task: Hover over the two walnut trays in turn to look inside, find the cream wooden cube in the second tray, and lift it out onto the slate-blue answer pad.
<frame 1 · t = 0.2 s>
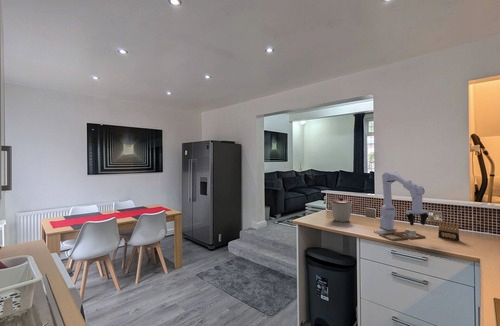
hand: (417, 224, 157), 10 cm above the countertop, tool pointing down, fingers open, 7 cm apart
ammunition clip: (448, 239, 158), on the countertop
cube: (410, 236, 166), resting in tray far
tray near: (393, 237, 163), on the countertop
answer pad: (383, 232, 173), on the countertop
tray far: (410, 235, 166), on the countertop
canister: (341, 220, 211), on the countertop
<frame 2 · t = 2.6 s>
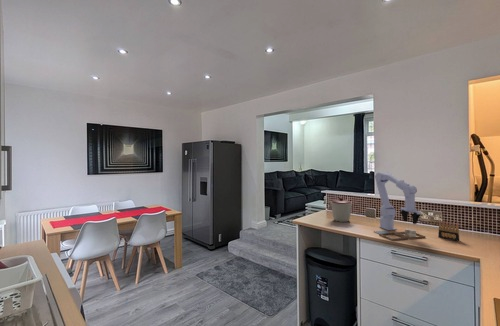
hand: (410, 222, 166), 9 cm above the countertop, tool pointing down, fingers open, 7 cm apart
nothing on the countertop moved.
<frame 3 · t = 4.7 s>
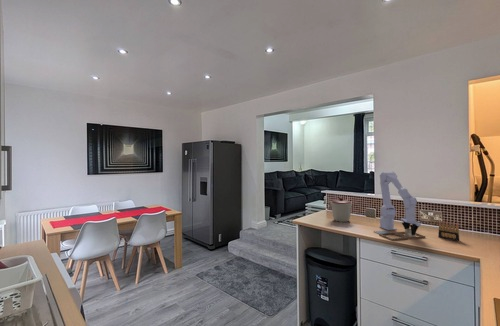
hand: (410, 233, 166), 1 cm above the countertop, tool pointing down, fingers closed on cube, 4 cm apart
cube: (410, 235, 166), resting in tray far, touching gripper
everything else where it was.
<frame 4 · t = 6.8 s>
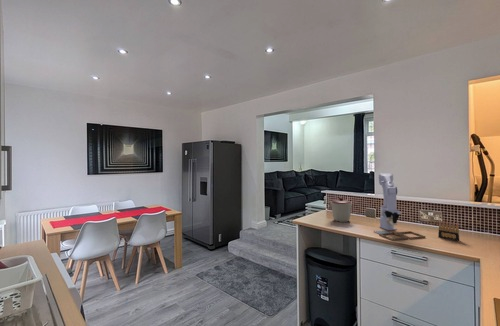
hand: (392, 222, 171), 8 cm above the countertop, tool pointing down, fingers closed on cube, 4 cm apart
cube: (392, 224, 171), point 7 cm above the countertop, touching gripper
everything else where it was.
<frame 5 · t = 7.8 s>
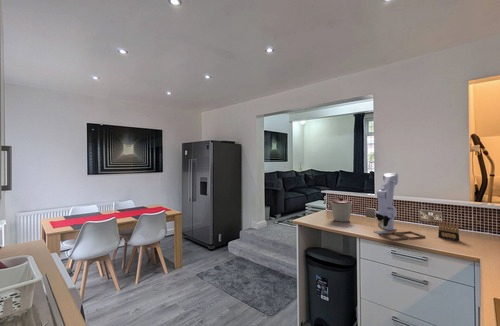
hand: (382, 225, 173), 6 cm above the countertop, tool pointing down, fingers closed on cube, 4 cm apart
cube: (382, 227, 173), point 4 cm above the countertop, touching gripper
everything else where it was.
when the fingers open (3 cm above the countertop, at t = 8.7 s): cube stays where it is, resting on answer pad.
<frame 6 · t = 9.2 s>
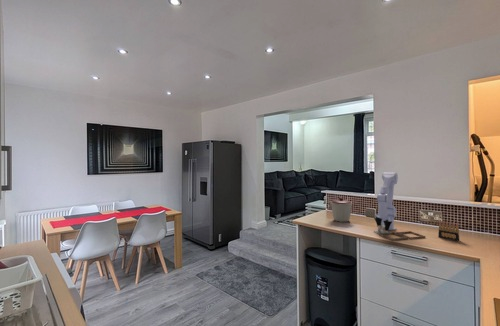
hand: (383, 229, 173), 3 cm above the countertop, tool pointing down, fingers open, 7 cm apart
cube: (383, 232, 173), resting on answer pad
everything else where it was.
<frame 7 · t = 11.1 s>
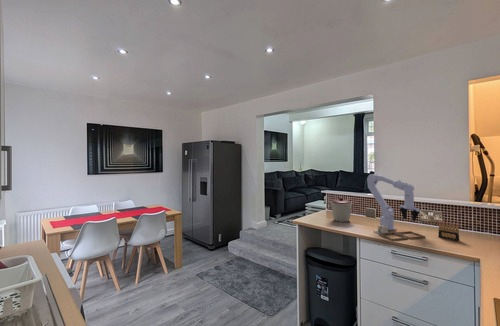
hand: (409, 219, 174), 9 cm above the countertop, tool pointing down, fingers open, 7 cm apart
nothing on the countertop moved.
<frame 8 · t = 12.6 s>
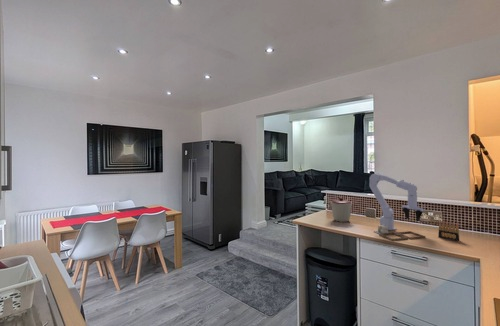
hand: (412, 219, 174), 9 cm above the countertop, tool pointing down, fingers open, 7 cm apart
nothing on the countertop moved.
at the end: cube inside the target area on the answer pad (0.0 cm from its centre), point 0.4 cm above the answer pad's base; cube tilted 0°; the gripper is holding nothing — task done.
